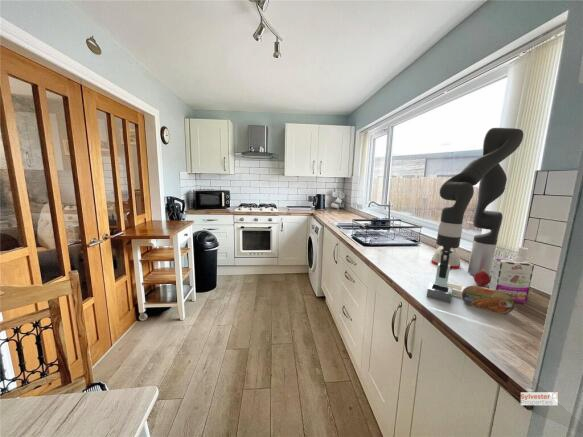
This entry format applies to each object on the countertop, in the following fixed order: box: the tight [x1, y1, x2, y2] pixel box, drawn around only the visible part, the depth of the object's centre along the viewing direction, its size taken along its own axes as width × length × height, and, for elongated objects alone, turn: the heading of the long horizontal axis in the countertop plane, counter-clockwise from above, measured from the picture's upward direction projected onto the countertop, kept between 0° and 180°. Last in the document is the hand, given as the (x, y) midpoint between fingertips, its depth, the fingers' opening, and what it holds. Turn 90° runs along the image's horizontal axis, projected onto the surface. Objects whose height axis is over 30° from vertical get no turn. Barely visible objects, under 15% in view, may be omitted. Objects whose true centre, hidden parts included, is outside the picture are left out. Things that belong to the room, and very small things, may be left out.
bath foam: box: [511, 246, 531, 263], centre depth 103 cm, size 7×7×20 cm
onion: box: [473, 270, 491, 287], centre depth 107 cm, size 6×6×8 cm
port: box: [426, 281, 453, 304], centre depth 95 cm, size 8×8×4 cm
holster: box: [447, 281, 465, 299], centre depth 100 cm, size 7×7×3 cm
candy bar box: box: [489, 257, 535, 304], centre depth 96 cm, size 11×5×16 cm, turn 77°
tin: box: [461, 285, 515, 315], centre depth 87 cm, size 15×3×8 cm, turn 62°
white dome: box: [431, 246, 461, 270], centre depth 134 cm, size 14×14×15 cm
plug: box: [434, 263, 450, 287], centre depth 94 cm, size 4×4×9 cm
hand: (442, 275), depth 94 cm, fingers closed on plug, 4 cm apart
